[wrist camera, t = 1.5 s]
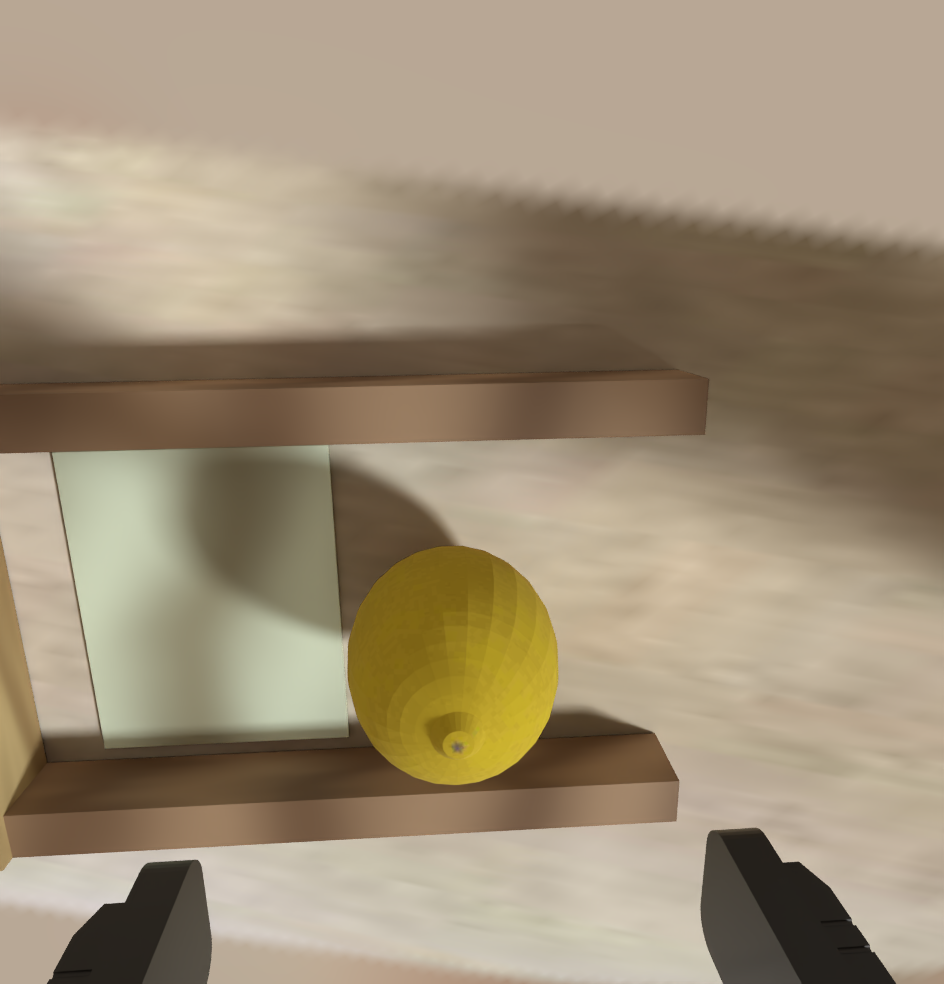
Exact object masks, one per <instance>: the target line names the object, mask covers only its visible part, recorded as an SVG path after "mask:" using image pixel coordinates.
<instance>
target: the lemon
mask: <svg viewBox="0 0 944 984" xmlns="http://www.w3.org/2000/svg"><path fill="white" fill-rule="evenodd" d="M348 683H349V688H350V692H351V696H352V700H353V704H354V707H355V711H356V715H357V718H358V720H359V723H360V724H361V726H362V728H363V729H364V731H365V733H366V734H367V736H368V738H369V740H370V741H371V743H372V744H373V746H374V747H375V749H377V750H378V751H379V752H380V753H381V754H382V755H383V756H384V757H385V758H386V759H387V760H388V761H389V762H390V763H391V764H393V765H394V766H395V767H397V768H399V769H400V770H402V771H404V772H406V773H407V774H409V775H411V776H413V777H414V778H418V779H421V780H424V781H428V782H431V783H434V784H447V785H461V784H468V783H475V782H480V781H482V780H485V779H488V778H490V777H493V776H496V775H499V774H500V773H502V772H503V771H505V770H506V769H508V768H509V767H511V766H512V765H514V764H515V763H517V762H518V761H519V760H520V759H521V758H522V757H523V756H524V755H525V754H526V753H527V751H528V750H529V749H530V748H531V747H532V746H533V745H534V744H535V743H536V741H537V740H538V738H539V736H540V734H541V733H542V731H543V729H544V727H545V725H546V724H547V722H548V720H549V718H550V714H551V710H552V706H553V702H554V698H555V694H556V690H557V685H558V650H557V641H556V637H555V633H554V630H553V627H552V624H551V621H550V618H549V614H548V612H547V609H546V607H545V605H544V604H543V602H542V601H541V599H540V598H539V596H538V595H537V593H536V592H535V590H534V589H533V587H532V586H531V584H530V583H529V581H528V580H527V579H526V578H525V577H523V576H522V575H521V574H520V573H519V572H518V571H517V570H515V569H514V568H513V567H512V566H511V565H510V564H509V563H507V562H505V561H504V560H502V559H500V558H498V557H496V556H494V555H492V554H490V553H488V552H486V551H483V550H478V549H474V548H469V547H465V546H439V547H435V548H431V549H427V550H423V551H419V552H416V553H414V554H412V555H411V556H409V557H407V558H405V559H403V560H401V561H399V562H398V563H396V564H395V565H393V566H392V567H391V568H390V569H389V570H388V571H387V572H386V573H385V574H384V575H383V576H382V577H380V578H379V579H378V580H377V581H376V582H375V584H374V585H373V587H372V588H371V590H370V591H369V593H368V594H367V596H366V597H365V599H364V601H363V602H362V604H361V605H360V607H359V609H358V612H357V615H356V618H355V621H354V625H353V628H352V631H351V634H350V638H349V643H348Z"/></svg>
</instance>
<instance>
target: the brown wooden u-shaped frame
mask: <svg viewBox="0 0 944 984" xmlns="http://www.w3.org/2000/svg"><path fill="white" fill-rule="evenodd" d="M708 386H709V379H708V378H704V377H701V376H698V375H694V374H691V373H687V372H684V371H680V370H634V371H589V372H543V373H497V374H451V375H406V376H360V377H314V378H269V379H223V380H177V381H131V382H86V383H40V384H0V453H33V452H52V456H53V461H54V467H55V473H56V478H57V484H58V489H59V495H60V500H61V506H62V512H63V517H64V523H65V528H66V534H67V539H68V545H69V551H70V556H71V562H72V567H73V573H74V578H75V584H76V590H77V595H78V601H79V606H80V612H81V618H82V623H83V629H84V634H85V640H86V645H87V651H88V657H89V662H90V668H91V673H92V679H93V684H94V690H95V696H96V701H97V707H98V712H99V718H100V723H101V729H102V735H103V740H104V746H105V749H109V748H130V747H151V746H172V745H193V744H214V743H235V742H256V741H277V740H298V739H319V738H340V737H349V726H348V712H347V698H346V684H345V670H344V656H343V642H342V628H341V614H340V600H339V587H338V573H337V559H336V545H335V531H334V517H333V503H332V489H331V475H330V461H329V447H328V445H333V444H370V443H408V442H445V441H483V440H520V439H557V438H595V437H632V436H670V435H705V427H706V413H707V400H708ZM678 792H679V779H678V778H677V776H676V774H675V772H674V770H673V768H672V766H671V764H670V762H669V760H668V758H667V756H666V754H665V752H664V750H663V748H662V746H661V744H660V743H659V741H658V739H657V737H656V735H655V733H652V734H632V735H611V736H590V737H570V738H549V739H538V740H537V741H536V743H535V744H534V745H533V746H532V747H531V748H530V749H529V750H528V751H527V753H526V754H525V755H524V756H523V757H522V758H521V759H520V760H519V761H518V762H517V763H515V764H514V765H512V766H511V767H509V768H508V769H506V770H505V771H503V772H502V773H500V774H499V775H496V776H493V777H490V778H488V779H485V780H482V781H480V782H475V783H468V784H461V785H447V784H434V783H431V782H428V781H424V780H421V779H418V778H414V777H413V776H411V775H409V774H407V773H406V772H404V771H402V770H400V769H399V768H397V767H395V766H394V765H393V764H391V763H390V762H389V761H388V760H387V759H386V758H385V757H384V756H383V755H382V754H381V753H380V752H379V751H378V750H377V749H375V747H363V748H342V749H322V750H301V751H280V752H260V753H239V754H218V755H198V756H177V757H156V758H136V759H115V760H94V761H74V762H53V763H47V760H46V755H45V751H44V746H43V741H42V736H41V731H40V726H39V721H38V717H37V712H36V707H35V702H34V697H33V692H32V687H31V683H30V678H29V673H28V668H27V663H26V658H25V653H24V649H23V644H22V639H21V634H20V629H19V624H18V620H17V615H16V610H15V605H14V600H13V595H12V590H11V586H10V581H9V576H8V571H7V566H6V561H5V556H4V552H3V547H2V542H1V537H0V871H3V870H4V869H5V867H6V866H7V865H8V863H9V862H10V860H11V859H12V858H16V857H34V856H52V855H70V854H89V853H107V852H125V851H143V850H161V849H180V848H198V847H216V846H234V845H253V844H271V843H289V842H307V841H325V840H344V839H362V838H380V837H398V836H417V835H435V834H453V833H471V832H489V831H508V830H526V829H544V828H562V827H581V826H599V825H617V824H635V823H653V822H672V821H676V819H677V806H678Z"/></svg>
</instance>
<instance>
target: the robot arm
mask: <svg viewBox="0 0 944 984" xmlns="http://www.w3.org/2000/svg"><path fill="white" fill-rule="evenodd" d="M701 921H702V927H703V932H704V937H705V940H706V944H707V947H708V950H709V952H710V955H711V957H712V959H713V962H714V964H715V966H716V969H717V971H718V973H719V975H720V978H721V980H722V982H723V984H896V983H895V981H894V980H893V978H892V977H891V976H890V974H889V973H888V971H887V970H886V968H885V967H884V965H883V964H882V962H881V961H880V960H879V958H878V957H877V955H876V954H875V952H871V950H870V945H869V944H868V942H867V941H866V939H865V938H864V936H863V935H862V933H861V932H860V930H859V929H858V928H857V926H856V925H853V924H852V919H851V917H850V916H849V915H848V913H847V912H846V910H845V909H844V907H843V906H842V904H841V903H840V901H839V900H838V899H837V897H836V896H835V894H834V893H833V891H832V890H831V888H830V887H829V886H827V885H826V884H825V883H824V882H823V881H821V880H820V879H819V878H818V877H817V876H815V875H814V874H813V873H812V872H811V871H809V870H808V869H807V868H806V867H805V866H803V865H802V864H801V863H800V862H787V863H783V862H782V861H781V859H780V858H779V856H778V854H777V853H776V851H775V850H774V848H773V847H772V845H771V843H770V842H769V840H768V839H767V837H766V836H765V834H764V833H763V832H762V831H761V830H760V829H758V828H745V829H728V830H713V831H710V833H709V834H708V838H707V844H706V855H705V865H704V875H703V886H702V896H701ZM211 952H212V938H211V930H210V923H209V916H208V908H207V901H206V894H205V887H204V880H203V873H202V867H201V864H200V862H199V861H198V860H185V861H168V862H152V863H147V864H146V865H144V867H143V868H142V869H141V871H140V873H139V875H138V877H137V879H136V881H135V883H134V885H133V887H132V889H131V891H130V893H129V895H128V897H127V899H126V902H125V903H113V904H104V905H103V906H102V907H101V908H100V909H99V910H98V911H97V912H96V913H95V914H94V915H93V916H92V917H91V918H90V919H89V920H88V921H87V922H86V923H85V924H84V925H83V927H81V928H80V929H79V930H78V931H77V932H76V934H74V935H73V937H72V939H71V941H70V942H69V944H68V946H67V948H66V950H65V952H64V954H63V955H62V957H61V959H60V961H59V963H58V965H57V966H56V969H55V970H54V972H53V973H54V975H53V978H52V979H50V980H49V981H48V983H47V984H207V980H208V976H209V969H210V963H211Z"/></svg>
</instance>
